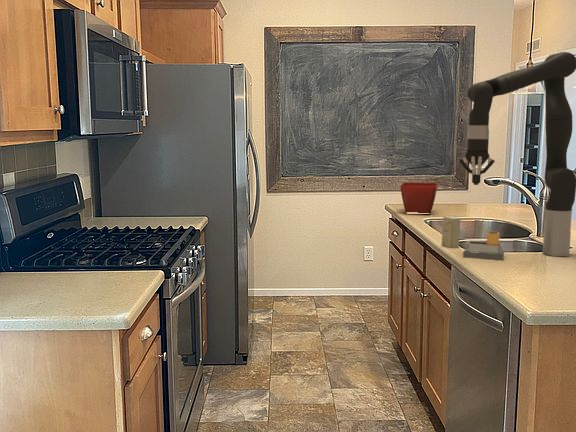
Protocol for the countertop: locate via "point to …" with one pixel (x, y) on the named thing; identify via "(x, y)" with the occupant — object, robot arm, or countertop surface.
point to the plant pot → (418, 196)
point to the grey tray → (483, 250)
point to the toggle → (493, 238)
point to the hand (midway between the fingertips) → (475, 184)
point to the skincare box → (451, 231)
